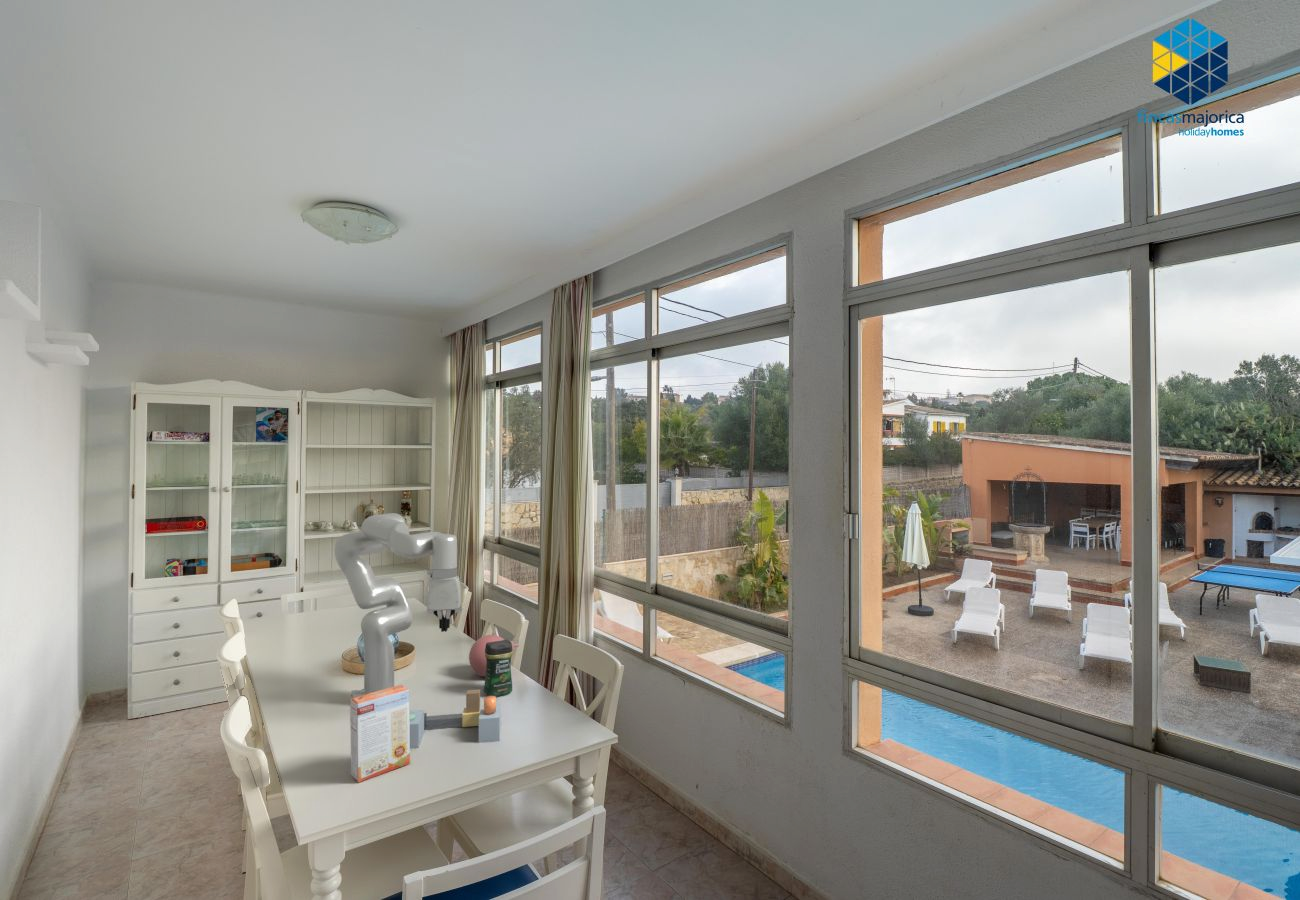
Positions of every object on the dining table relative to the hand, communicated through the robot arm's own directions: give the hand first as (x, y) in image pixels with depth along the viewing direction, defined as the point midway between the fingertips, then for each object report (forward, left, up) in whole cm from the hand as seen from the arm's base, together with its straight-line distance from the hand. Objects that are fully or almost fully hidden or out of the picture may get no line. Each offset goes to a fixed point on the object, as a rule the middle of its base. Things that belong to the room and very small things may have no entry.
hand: (444, 630), depth 198 cm
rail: (+4, -4, -29) cm, 30 cm away
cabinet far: (+15, -12, -29) cm, 35 cm away
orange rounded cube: (+15, -13, -22) cm, 30 cm away
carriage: (+9, -4, -29) cm, 31 cm away
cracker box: (-13, -28, -29) cm, 43 cm away
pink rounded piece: (+14, +39, -29) cm, 51 cm away
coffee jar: (+16, +20, -29) cm, 39 cm away
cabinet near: (-8, -12, -29) cm, 33 cm away
